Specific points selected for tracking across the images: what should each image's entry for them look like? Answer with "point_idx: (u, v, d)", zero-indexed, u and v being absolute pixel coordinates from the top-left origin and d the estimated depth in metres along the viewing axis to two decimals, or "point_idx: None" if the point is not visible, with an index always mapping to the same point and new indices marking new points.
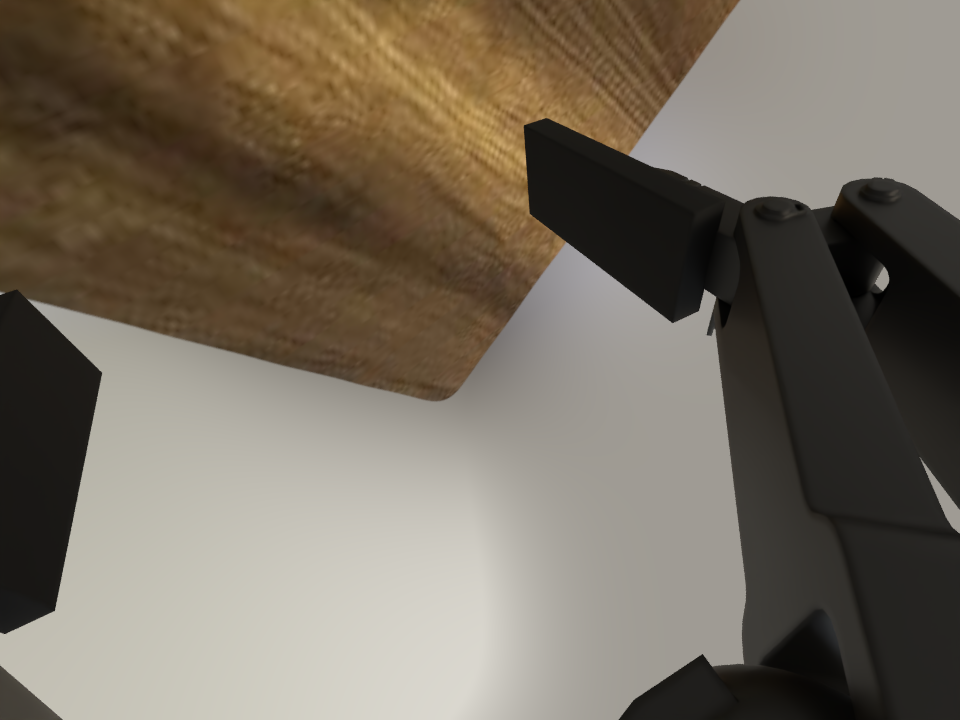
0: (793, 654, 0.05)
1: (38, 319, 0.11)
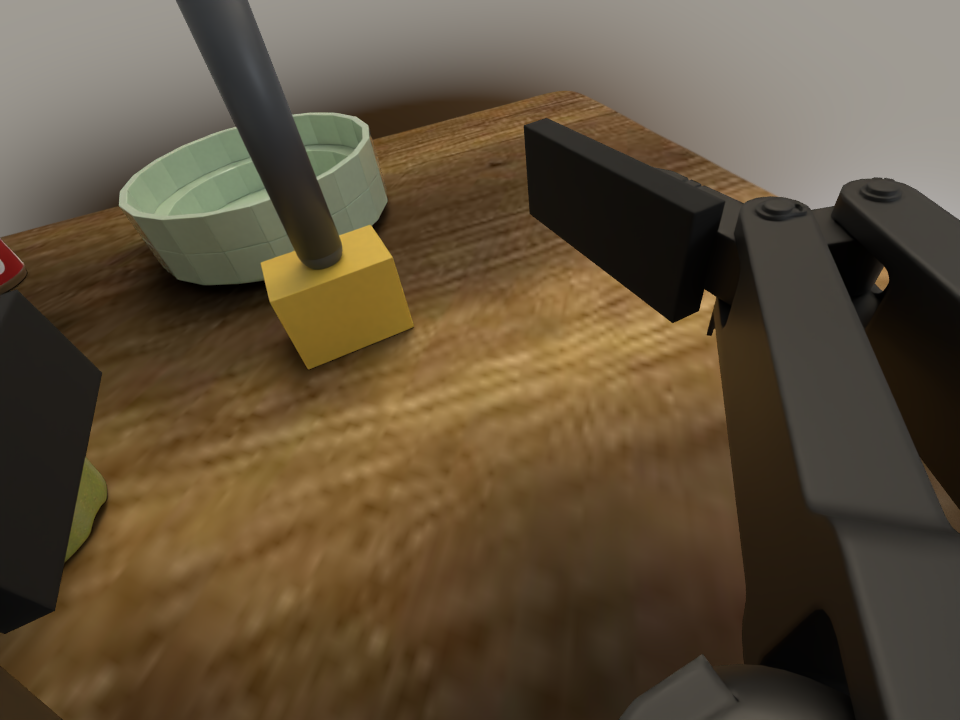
0: (793, 654, 0.05)
1: (38, 319, 0.11)
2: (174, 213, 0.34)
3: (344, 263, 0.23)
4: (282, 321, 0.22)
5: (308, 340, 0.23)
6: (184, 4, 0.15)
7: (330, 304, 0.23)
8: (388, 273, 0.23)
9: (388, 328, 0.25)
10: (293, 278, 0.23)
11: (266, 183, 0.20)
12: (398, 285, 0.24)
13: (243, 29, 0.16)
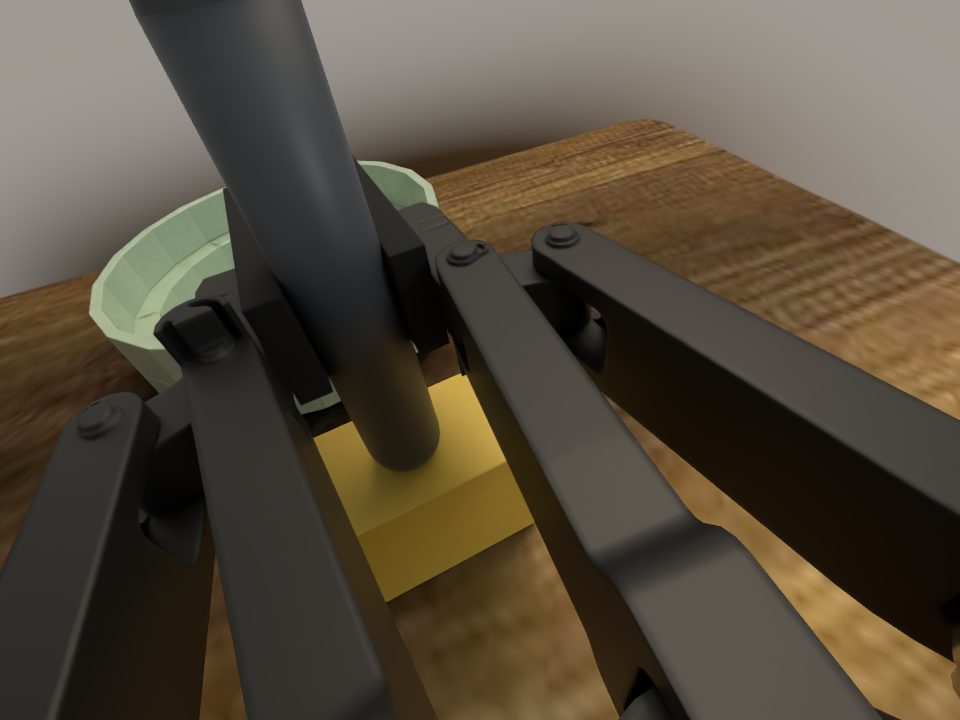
0: (643, 689, 0.05)
1: None
2: (169, 304, 0.25)
3: (444, 460, 0.14)
4: None
5: (383, 577, 0.14)
6: (175, 66, 0.06)
7: (422, 528, 0.14)
8: None
9: (499, 533, 0.16)
10: (361, 488, 0.14)
11: (330, 370, 0.11)
12: None
13: (309, 115, 0.07)
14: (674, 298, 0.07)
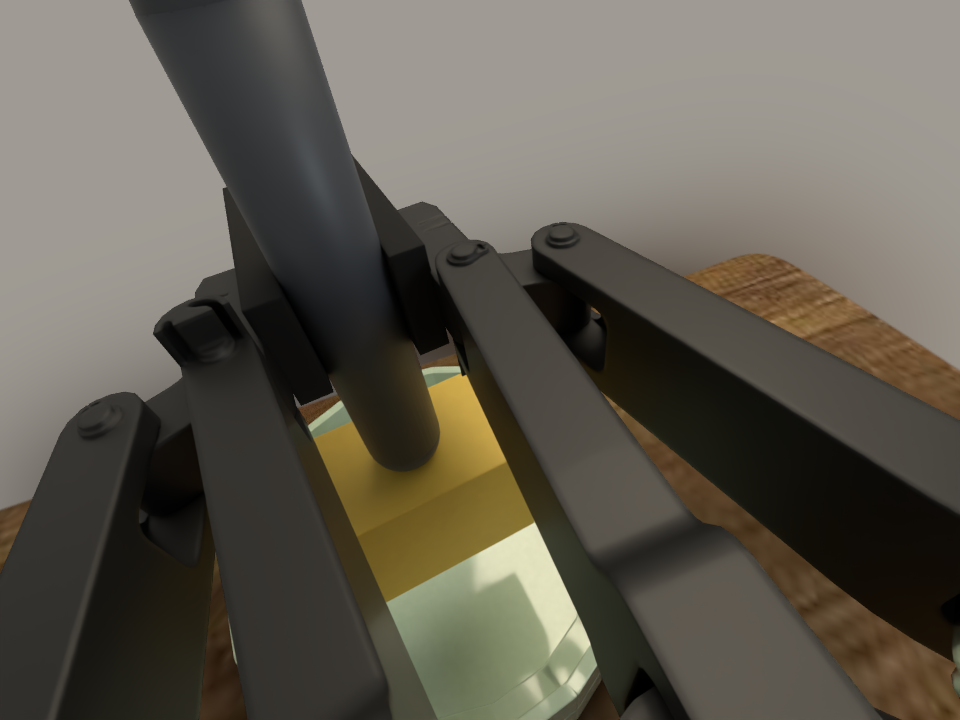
0: (643, 689, 0.05)
1: None
2: None
3: (444, 460, 0.14)
4: None
5: (383, 577, 0.14)
6: (175, 66, 0.06)
7: (423, 528, 0.14)
8: None
9: (499, 533, 0.16)
10: (362, 488, 0.14)
11: (330, 371, 0.11)
12: None
13: (309, 115, 0.07)
14: (674, 298, 0.07)
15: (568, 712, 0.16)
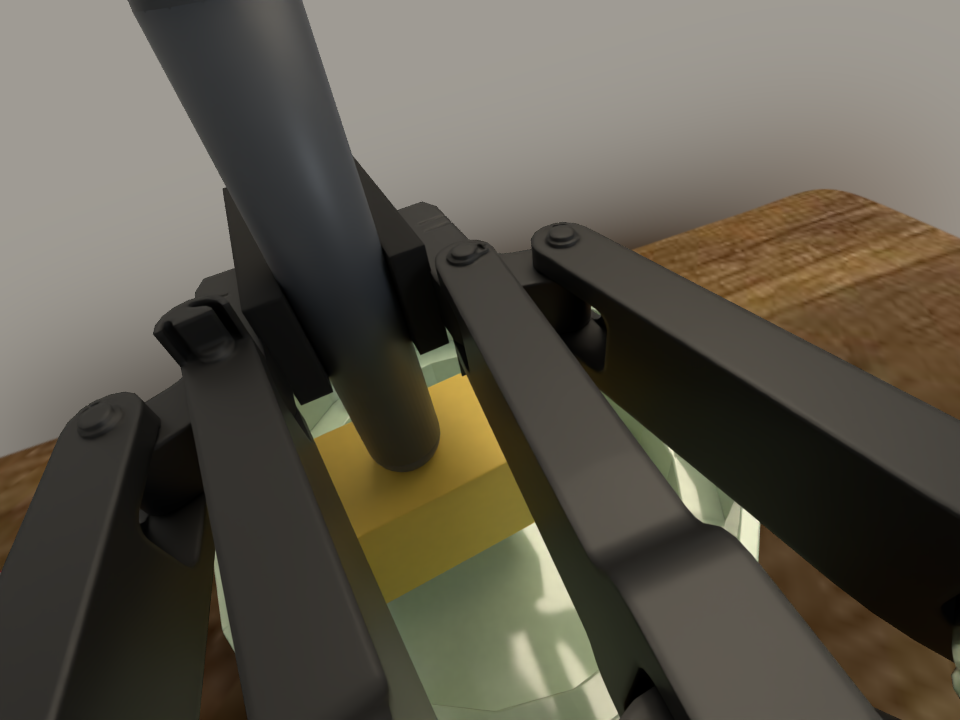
0: (643, 689, 0.05)
1: None
2: None
3: (444, 461, 0.14)
4: None
5: (383, 578, 0.14)
6: (173, 63, 0.06)
7: (424, 529, 0.14)
8: None
9: (500, 533, 0.16)
10: (362, 489, 0.13)
11: (330, 371, 0.11)
12: None
13: (309, 113, 0.07)
14: (675, 298, 0.07)
15: None
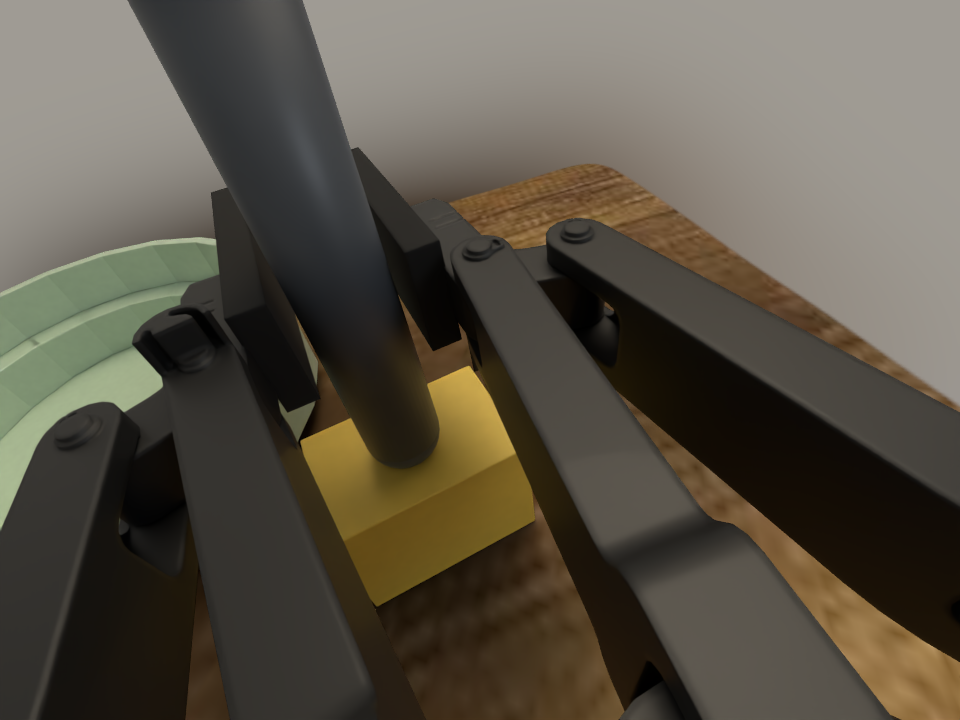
0: (650, 684, 0.05)
1: None
2: None
3: (444, 457, 0.14)
4: None
5: (382, 576, 0.14)
6: (166, 47, 0.06)
7: (422, 526, 0.14)
8: (515, 469, 0.14)
9: (500, 531, 0.16)
10: (360, 486, 0.13)
11: (328, 365, 0.10)
12: (526, 479, 0.15)
13: (305, 100, 0.07)
14: (688, 294, 0.07)
15: None
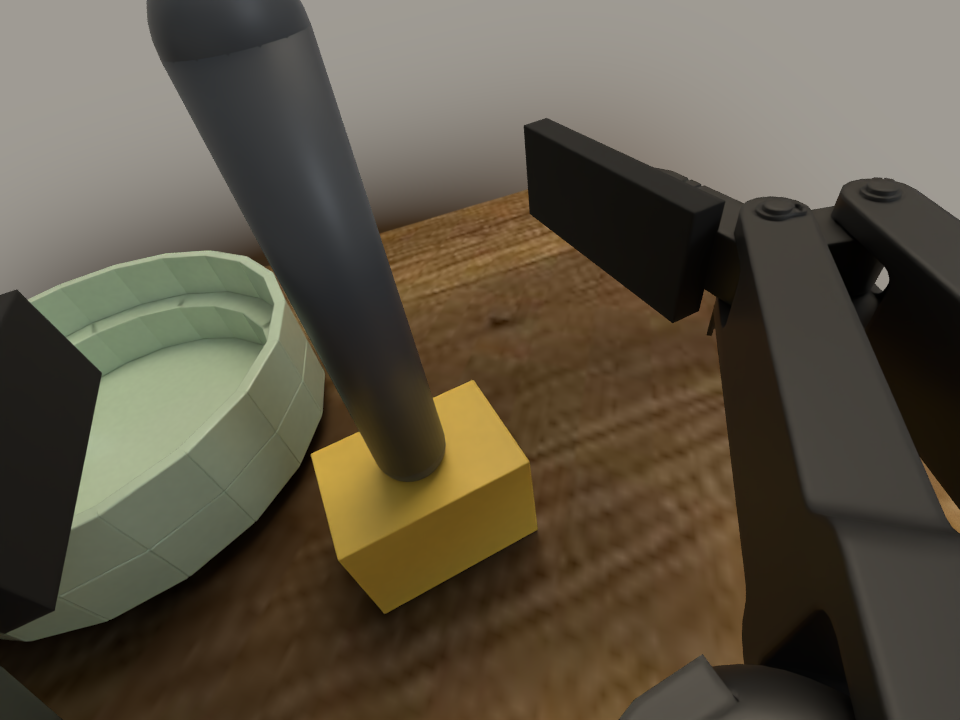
0: (793, 654, 0.05)
1: (38, 319, 0.11)
2: None
3: (450, 471, 0.14)
4: (354, 576, 0.14)
5: (390, 585, 0.15)
6: (199, 107, 0.07)
7: (429, 537, 0.14)
8: (519, 482, 0.14)
9: (504, 540, 0.16)
10: (370, 499, 0.14)
11: (341, 387, 0.11)
12: (529, 491, 0.15)
13: (324, 150, 0.08)
14: None
15: (119, 546, 0.15)
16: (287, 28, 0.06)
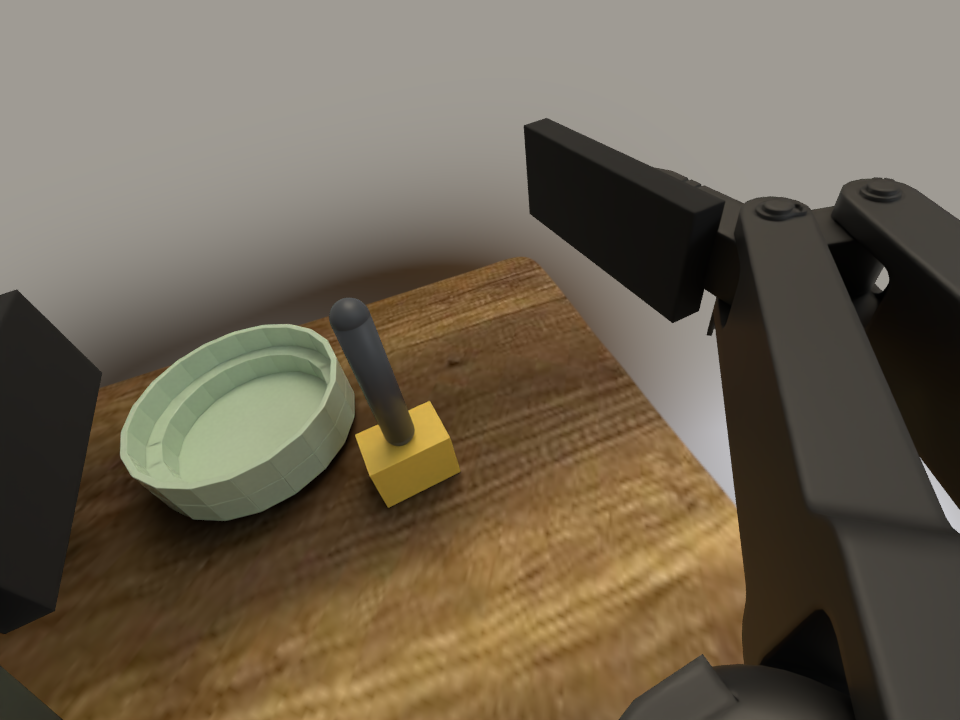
0: (793, 654, 0.05)
1: (38, 319, 0.11)
2: (168, 433, 0.40)
3: (416, 441, 0.33)
4: (376, 484, 0.33)
5: (390, 492, 0.34)
6: (341, 338, 0.26)
7: (407, 469, 0.33)
8: (446, 446, 0.33)
9: (443, 475, 0.35)
10: (382, 453, 0.33)
11: (372, 407, 0.30)
12: (452, 451, 0.34)
13: (372, 343, 0.27)
14: None
15: (273, 474, 0.34)
16: (364, 320, 0.25)
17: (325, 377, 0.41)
